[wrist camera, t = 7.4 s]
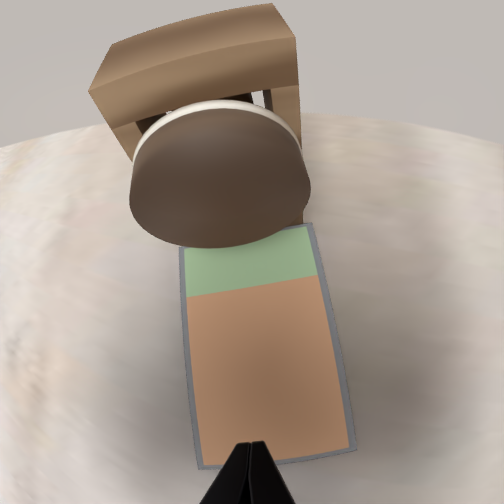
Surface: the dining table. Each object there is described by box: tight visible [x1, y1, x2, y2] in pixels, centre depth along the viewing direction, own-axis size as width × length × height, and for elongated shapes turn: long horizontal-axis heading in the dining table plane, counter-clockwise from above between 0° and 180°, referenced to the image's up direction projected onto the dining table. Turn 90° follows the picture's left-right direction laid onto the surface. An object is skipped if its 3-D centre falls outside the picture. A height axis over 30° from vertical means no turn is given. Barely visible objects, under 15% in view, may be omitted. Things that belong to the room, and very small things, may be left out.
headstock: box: [88, 3, 303, 227], centre depth 14 cm, size 4×7×12 cm, turn 98°
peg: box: [129, 92, 311, 249], centre depth 13 cm, size 8×6×6 cm
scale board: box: [179, 223, 357, 469], centre depth 16 cm, size 13×8×1 cm, turn 7°
